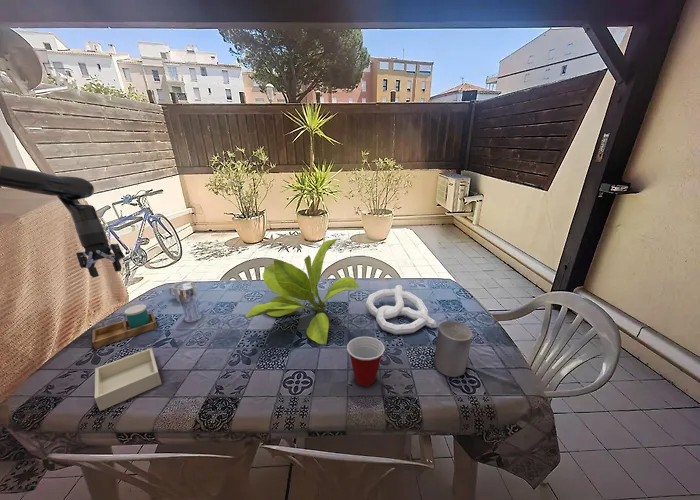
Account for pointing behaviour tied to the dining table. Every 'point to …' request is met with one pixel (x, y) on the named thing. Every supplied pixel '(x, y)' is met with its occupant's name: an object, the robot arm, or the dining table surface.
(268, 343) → the dining table surface
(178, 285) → the cup
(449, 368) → the pillar candle
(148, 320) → the container
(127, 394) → the shallow cream tray
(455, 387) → the dining table surface
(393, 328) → the pretzel
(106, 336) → the brown wooden divided tray
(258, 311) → the artificial plant
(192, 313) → the beer glass
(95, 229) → the robot arm
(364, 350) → the plastic cup
